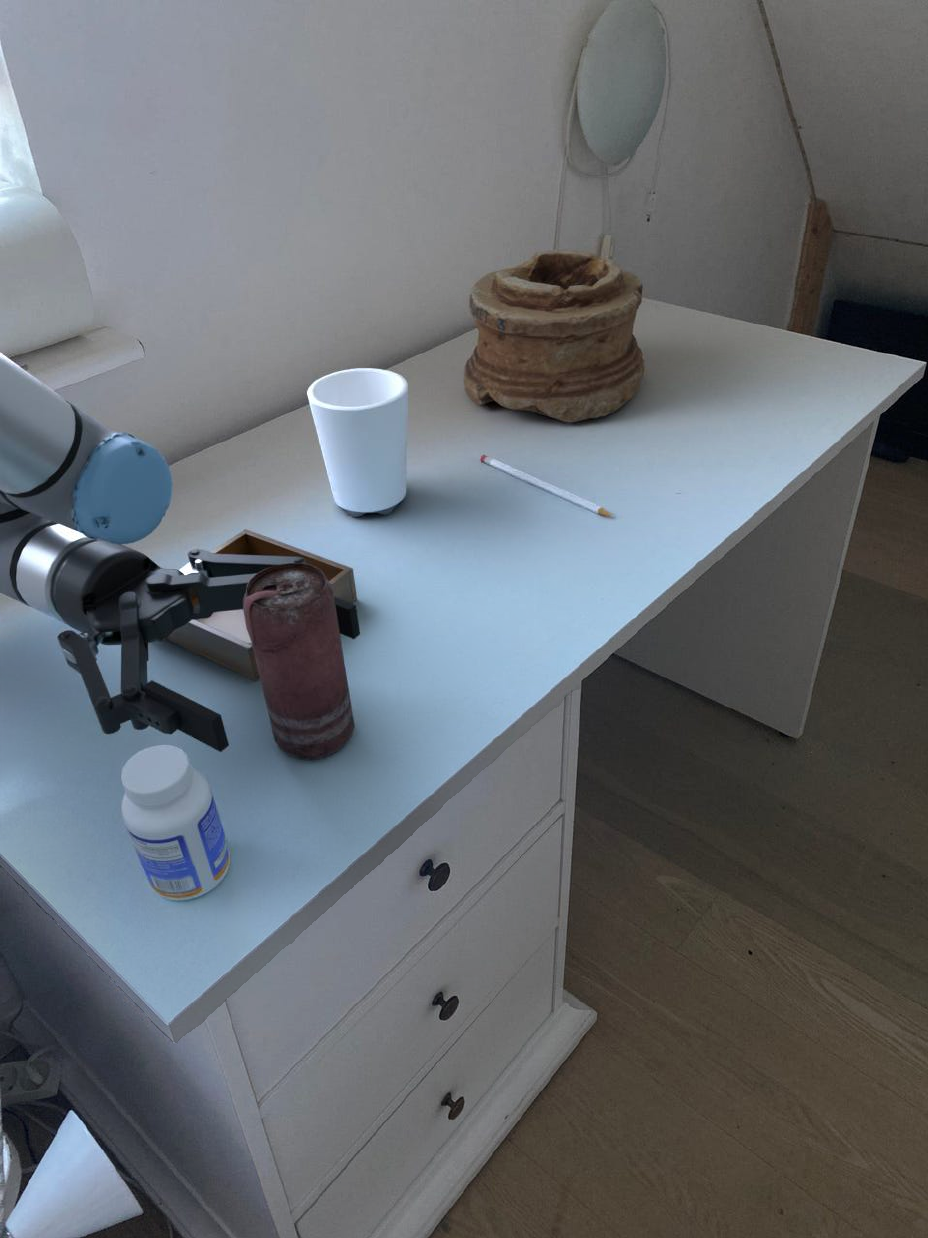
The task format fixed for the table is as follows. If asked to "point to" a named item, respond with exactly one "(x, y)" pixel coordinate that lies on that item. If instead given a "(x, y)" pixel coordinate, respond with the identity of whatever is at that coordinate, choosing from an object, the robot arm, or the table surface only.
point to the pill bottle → (173, 823)
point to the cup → (363, 437)
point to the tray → (227, 629)
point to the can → (299, 659)
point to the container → (556, 336)
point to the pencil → (545, 486)
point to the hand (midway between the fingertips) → (293, 674)
